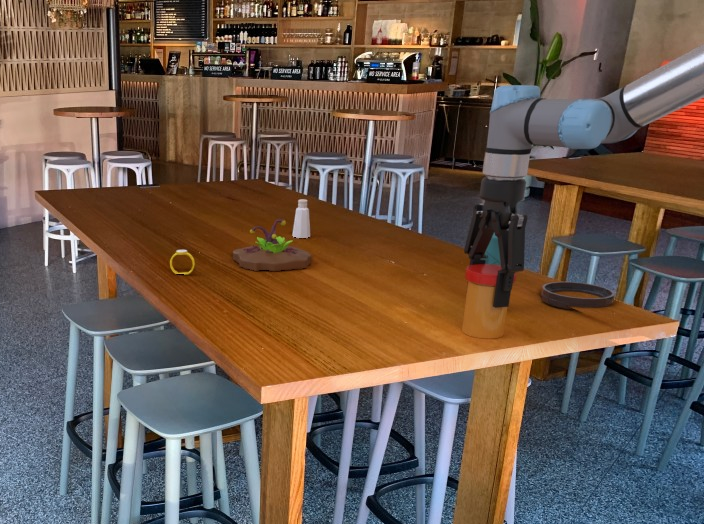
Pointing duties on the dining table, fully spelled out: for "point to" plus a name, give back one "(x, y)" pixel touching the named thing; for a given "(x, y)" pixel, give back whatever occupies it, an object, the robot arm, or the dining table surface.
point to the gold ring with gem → (182, 252)
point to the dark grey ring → (562, 300)
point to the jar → (483, 312)
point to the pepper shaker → (301, 220)
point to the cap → (483, 274)
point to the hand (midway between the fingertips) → (486, 299)
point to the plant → (272, 253)
